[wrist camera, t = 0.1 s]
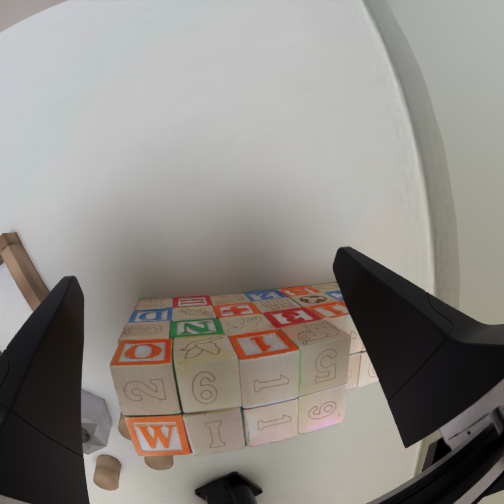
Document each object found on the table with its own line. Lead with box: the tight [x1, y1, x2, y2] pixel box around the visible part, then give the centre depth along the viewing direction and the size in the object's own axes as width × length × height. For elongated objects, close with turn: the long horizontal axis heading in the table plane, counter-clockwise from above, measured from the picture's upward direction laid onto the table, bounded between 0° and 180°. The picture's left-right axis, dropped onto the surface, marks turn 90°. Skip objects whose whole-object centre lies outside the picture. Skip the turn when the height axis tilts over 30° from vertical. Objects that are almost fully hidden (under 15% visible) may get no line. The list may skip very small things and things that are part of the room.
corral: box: [0, 232, 50, 356], centre depth 18 cm, size 11×11×2 cm
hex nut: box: [81, 389, 112, 455], centre depth 20 cm, size 5×6×4 cm
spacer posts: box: [93, 410, 173, 490], centre depth 20 cm, size 17×13×4 cm
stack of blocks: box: [110, 283, 379, 456], centre depth 20 cm, size 21×6×12 cm, turn 92°
